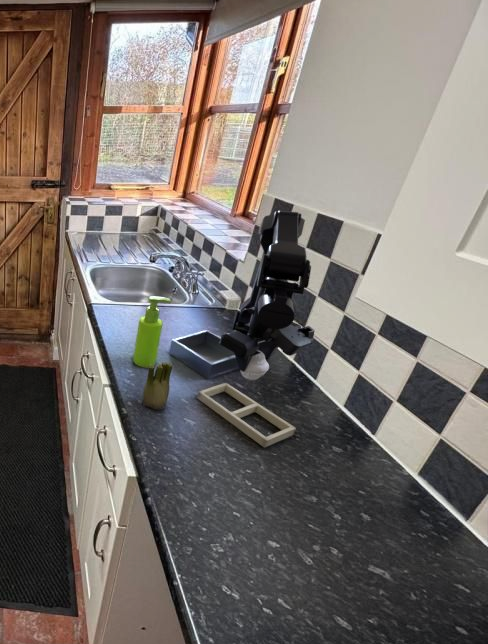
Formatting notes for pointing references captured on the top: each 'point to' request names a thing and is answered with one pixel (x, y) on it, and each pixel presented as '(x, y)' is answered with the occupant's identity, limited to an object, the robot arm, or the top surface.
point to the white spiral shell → (256, 367)
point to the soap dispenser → (149, 334)
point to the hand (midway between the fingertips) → (251, 367)
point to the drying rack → (249, 409)
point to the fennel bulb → (157, 386)
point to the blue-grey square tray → (204, 354)
